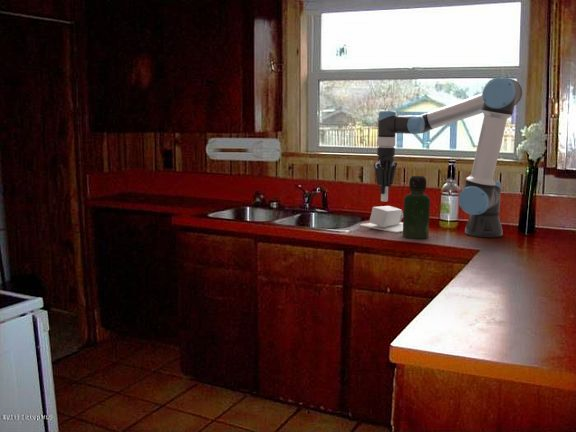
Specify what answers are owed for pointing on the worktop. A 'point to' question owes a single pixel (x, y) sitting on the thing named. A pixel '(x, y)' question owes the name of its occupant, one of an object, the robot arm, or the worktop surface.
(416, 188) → the green bottle
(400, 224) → the mat
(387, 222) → the milk carton
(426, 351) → the worktop surface
